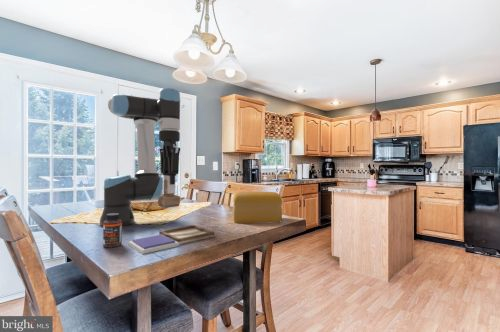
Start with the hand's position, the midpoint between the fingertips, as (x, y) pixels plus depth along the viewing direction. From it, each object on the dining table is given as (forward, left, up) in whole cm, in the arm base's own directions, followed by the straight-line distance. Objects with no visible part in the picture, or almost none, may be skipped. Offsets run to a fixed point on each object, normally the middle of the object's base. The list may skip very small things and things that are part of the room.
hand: (169, 192), depth 99 cm
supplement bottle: (-8, -17, -19) cm, 27 cm away
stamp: (0, 0, -5) cm, 5 cm away
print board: (-2, +8, -18) cm, 20 cm away
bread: (-4, +51, -19) cm, 55 cm away
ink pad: (+1, -7, -18) cm, 20 cm away
